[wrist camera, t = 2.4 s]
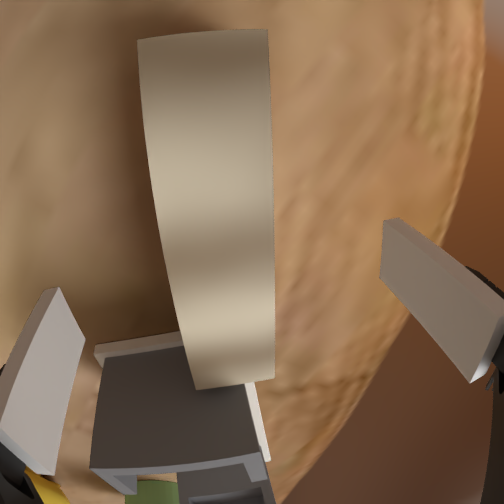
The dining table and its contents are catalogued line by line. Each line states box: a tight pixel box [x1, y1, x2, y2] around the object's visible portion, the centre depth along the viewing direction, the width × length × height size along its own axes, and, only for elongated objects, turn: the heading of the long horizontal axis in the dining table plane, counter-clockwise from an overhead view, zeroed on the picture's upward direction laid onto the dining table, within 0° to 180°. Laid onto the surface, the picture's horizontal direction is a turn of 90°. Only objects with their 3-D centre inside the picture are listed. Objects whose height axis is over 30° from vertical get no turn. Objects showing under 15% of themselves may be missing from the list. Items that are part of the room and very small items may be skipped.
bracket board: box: [89, 331, 276, 504], centre depth 23 cm, size 23×11×10 cm, turn 7°
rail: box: [137, 29, 275, 390], centre depth 16 cm, size 17×4×6 cm, turn 2°
